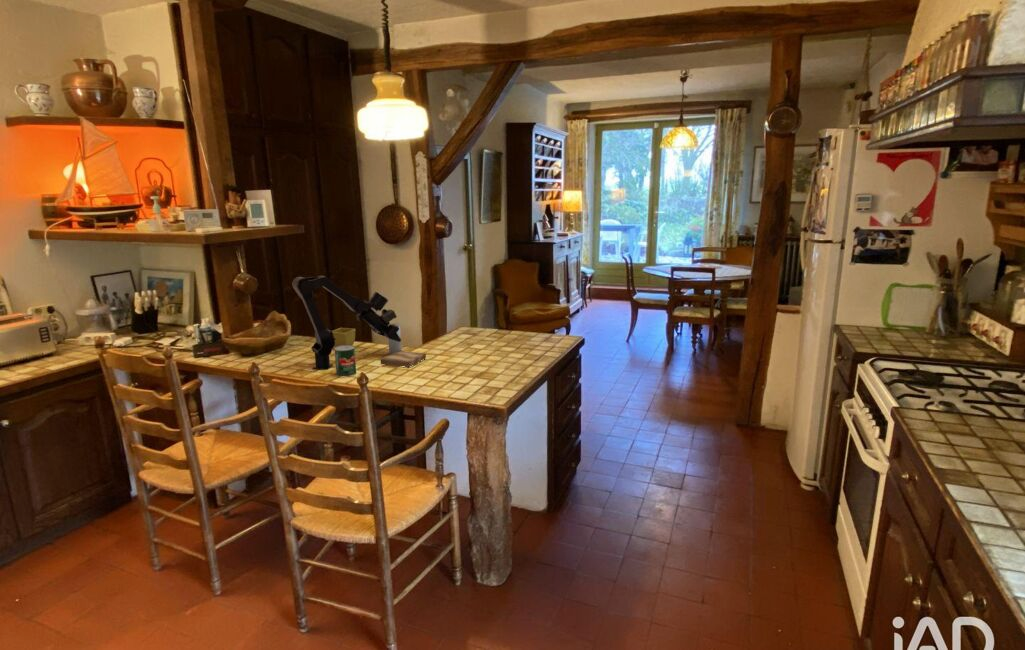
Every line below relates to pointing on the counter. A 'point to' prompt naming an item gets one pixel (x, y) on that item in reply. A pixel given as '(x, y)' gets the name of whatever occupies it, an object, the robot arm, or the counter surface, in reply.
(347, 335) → the flower pot
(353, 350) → the canned tomato
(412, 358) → the board
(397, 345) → the grey can
